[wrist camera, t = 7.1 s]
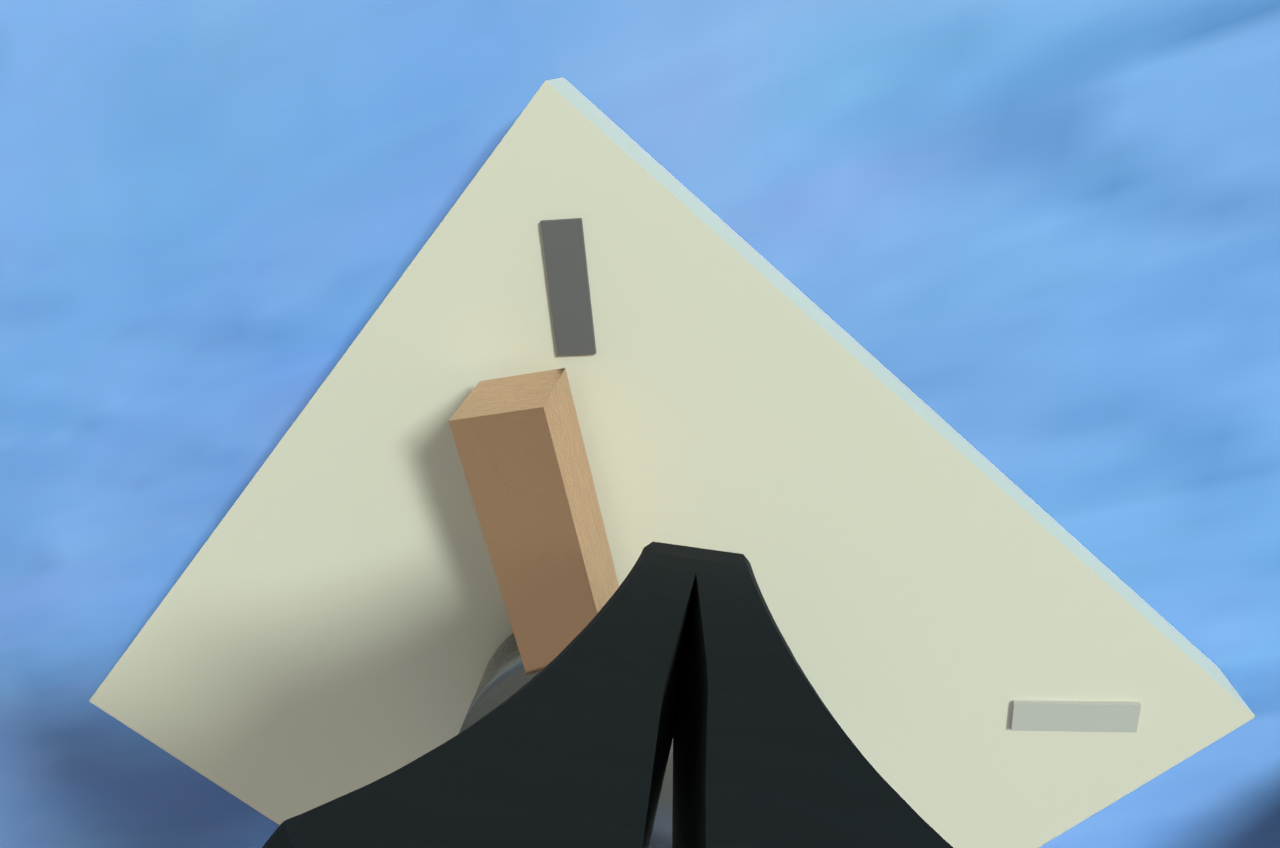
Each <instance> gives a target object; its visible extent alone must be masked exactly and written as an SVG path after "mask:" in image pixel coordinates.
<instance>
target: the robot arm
mask: <svg viewBox="0 0 1280 848" xmlns="http://www.w3.org/2000/svg"><path fill="white" fill-rule="evenodd" d="M672 740H673V800H672V848H953V847H952V846H951V845H950V844H949V843H948V842H947V841H945V840H944V839H943V838H942V837H941V836H940V835H939V834H938V833H937V832H936V831H935V830H934V829H933V828H932V827H931V826H930V825H929V824H927V823H926V822H925V821H924V820H923V819H922V818H921V817H920V816H919V815H918V814H917V813H916V812H915V811H914V810H913V809H912V808H911V807H910V805H909V804H908V803H907V802H906V801H905V800H904V799H903V798H902V797H901V796H900V795H899V794H898V793H897V792H896V791H895V790H894V789H893V788H892V787H891V786H890V785H889V784H888V783H887V782H886V781H885V780H884V779H883V778H882V777H881V775H880V774H879V773H878V772H877V771H876V770H875V769H874V768H873V766H872V765H871V764H870V763H869V762H868V761H867V759H866V758H865V757H864V756H863V755H862V753H861V752H860V751H859V750H858V748H857V747H856V746H855V745H854V743H853V742H852V741H851V739H850V738H849V737H848V736H847V734H846V733H845V732H844V731H843V729H842V728H841V727H840V725H839V724H838V723H837V721H836V720H835V718H834V717H833V716H832V714H831V713H830V711H829V710H828V709H827V707H826V706H825V704H824V703H823V701H822V700H821V698H820V697H819V695H818V694H817V692H816V691H815V689H814V688H813V686H812V685H811V683H810V682H809V680H808V679H807V677H806V675H805V674H804V672H803V670H802V669H801V667H800V665H799V664H798V662H797V661H796V659H795V657H794V655H793V654H792V652H791V650H790V648H789V646H788V644H787V643H786V641H785V639H784V637H783V635H782V634H781V632H780V630H779V628H778V626H777V624H776V622H775V620H774V618H773V616H772V614H771V612H770V610H769V608H768V606H767V604H766V602H765V600H764V597H763V595H762V593H761V591H760V588H759V586H758V583H757V581H756V578H755V576H754V573H753V570H752V567H751V564H750V562H749V561H748V559H747V558H746V557H745V556H744V554H739V553H732V552H724V551H717V550H710V549H703V548H696V547H689V546H682V545H674V544H667V543H660V542H652V543H650V544H649V545H647V546H646V547H644V548H643V550H642V553H641V555H640V556H639V558H638V560H637V562H636V563H635V565H634V566H633V568H632V570H631V571H630V572H629V574H628V575H627V577H626V578H625V579H624V581H623V582H622V584H621V585H620V586H619V588H618V589H617V590H616V592H615V593H614V594H613V595H612V597H611V598H610V599H609V600H608V601H607V603H606V604H605V605H604V606H603V607H602V609H601V610H600V611H599V612H598V613H597V615H596V616H595V617H594V618H593V619H592V620H591V622H590V623H589V624H588V625H587V626H586V627H585V628H584V629H583V630H582V631H581V632H580V633H579V634H578V635H577V636H576V637H575V638H574V639H573V640H572V641H571V642H570V643H569V644H568V645H567V647H566V648H565V649H564V650H563V651H562V652H561V653H560V654H559V655H558V656H557V657H556V658H555V659H554V660H552V661H551V662H550V663H549V664H548V665H547V666H546V667H545V668H544V669H543V670H542V671H540V672H539V673H538V674H537V675H536V676H535V677H534V678H532V679H531V680H530V681H529V682H528V683H526V684H525V685H524V686H523V687H522V688H520V689H519V690H518V691H517V692H516V693H514V694H513V695H512V696H511V697H509V698H508V699H507V700H505V701H504V702H503V703H501V704H500V705H499V706H497V707H496V708H494V709H493V710H492V711H490V712H489V713H488V714H486V715H485V716H483V717H482V718H481V719H479V720H478V721H477V722H475V723H474V724H472V725H471V726H470V727H468V728H467V729H465V730H464V731H462V732H461V733H459V734H458V735H456V736H455V737H453V738H451V739H450V740H448V741H447V742H445V743H443V744H442V745H440V746H438V747H436V748H435V749H433V750H431V751H429V752H428V753H426V754H424V755H423V756H421V757H419V758H417V759H416V760H414V761H412V762H410V763H409V764H407V765H405V766H403V767H402V768H400V769H398V770H396V771H394V772H392V773H390V774H388V775H386V776H384V777H382V778H380V779H378V780H376V781H374V782H372V783H370V784H368V785H366V786H364V787H361V788H359V789H357V790H355V791H352V792H350V793H348V794H346V795H343V796H341V797H339V798H336V799H334V800H332V801H330V802H327V803H325V804H323V805H321V806H318V807H316V808H314V809H312V810H309V811H307V812H305V813H302V814H300V815H297V816H295V817H292V818H290V819H287V820H285V821H284V822H282V823H281V824H280V826H279V827H278V828H277V829H276V831H275V832H274V833H273V834H272V836H271V837H270V838H269V840H268V841H267V842H266V843H265V845H264V846H263V847H262V848H649V844H650V839H651V835H652V830H653V826H654V821H655V817H656V812H657V808H658V803H659V799H660V794H661V790H662V785H663V781H664V776H665V772H666V767H667V763H668V758H669V754H670V749H671V745H672Z"/></svg>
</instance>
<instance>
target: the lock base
mask: <svg viewBox="0 0 1280 848" xmlns="http://www.w3.org/2000/svg"><path fill="white" fill-rule="evenodd" d="M561 368H566V373H567V377H568V381H569V385H570V389H571V393H572V397H573V401H574V405H575V409H576V413H577V417H578V421H579V425H580V429H581V433H582V438H583V442H584V446H585V450H586V454H587V458H588V462H589V466H590V470H591V474H592V478H593V482H594V486H595V490H596V494H597V498H598V503H599V507H600V511H601V515H602V519H603V523H604V527H605V531H606V535H607V539H608V543H609V547H610V551H611V555H612V559H613V563H614V568H615V572H616V576H617V580H618V584H619V586H620V585H621V584H622V582H623V581H624V579H625V578H626V577H627V575H628V574H629V572H630V571H631V570H632V568H633V566H634V565H635V563H636V562H637V560H638V558H639V556H640V555H641V553H642V550H643V548H644V547H646V546H647V545H649V544H650V543H652V542H660V543H667V544H674V545H682V546H689V547H696V548H703V549H710V550H717V551H724V552H732V553H739V554H744V556H745V557H746V558H747V559H748V561H749V562H750V564H751V567H752V570H753V573H754V576H755V578H756V581H757V583H758V586H759V588H760V591H761V593H762V595H763V597H764V600H765V602H766V604H767V606H768V608H769V610H770V612H771V614H772V616H773V618H774V620H775V622H776V624H777V626H778V628H779V630H780V632H781V634H782V635H783V637H784V639H785V641H786V643H787V644H788V646H789V648H790V650H791V652H792V654H793V655H794V657H795V659H796V661H797V662H798V664H799V665H800V667H801V669H802V670H803V672H804V674H805V675H806V677H807V679H808V680H809V682H810V683H811V685H812V686H813V688H814V689H815V691H816V692H817V694H818V695H819V697H820V698H821V700H822V701H823V703H824V704H825V706H826V707H827V709H828V710H829V711H830V713H831V714H832V716H833V717H834V718H835V720H836V721H837V723H838V724H839V725H840V727H841V728H842V729H843V731H844V732H845V733H846V734H847V736H848V737H849V738H850V739H851V741H852V742H853V743H854V745H855V746H856V747H857V748H858V750H859V751H860V752H861V753H862V755H863V756H864V757H865V758H866V759H867V761H868V762H869V763H870V764H871V765H872V766H873V768H874V769H875V770H876V771H877V772H878V773H879V774H880V775H881V777H882V778H883V779H884V780H885V781H886V782H887V783H888V784H889V785H890V786H891V787H892V788H893V789H894V790H895V791H896V792H897V793H898V794H899V795H900V796H901V797H902V798H903V799H904V800H905V801H906V802H907V803H908V804H909V805H910V807H911V808H912V809H913V810H914V811H915V812H916V813H917V814H918V815H919V816H920V817H921V818H922V819H923V820H924V821H925V822H926V823H927V824H929V825H930V826H931V827H932V828H933V829H934V830H935V831H936V832H937V833H938V834H939V835H940V836H941V837H942V838H943V839H944V840H945V841H947V842H948V843H949V844H950V845H951V846H952V847H953V848H1038V847H1040V846H1042V845H1043V844H1045V843H1047V842H1048V841H1050V840H1052V839H1053V838H1055V837H1057V836H1058V835H1060V834H1062V833H1063V832H1065V831H1067V830H1068V829H1070V828H1072V827H1073V826H1075V825H1077V824H1078V823H1080V822H1082V821H1083V820H1085V819H1087V818H1088V817H1090V816H1092V815H1093V814H1095V813H1097V812H1098V811H1100V810H1102V809H1103V808H1105V807H1107V806H1108V805H1110V804H1112V803H1113V802H1115V801H1117V800H1118V799H1120V798H1122V797H1123V796H1125V795H1127V794H1128V793H1130V792H1132V791H1133V790H1135V789H1137V788H1138V787H1140V786H1142V785H1143V784H1145V783H1147V782H1148V781H1150V780H1152V779H1153V778H1155V777H1157V776H1158V775H1160V774H1162V773H1163V772H1165V771H1167V770H1168V769H1170V768H1172V767H1173V766H1175V765H1177V764H1178V763H1180V762H1182V761H1183V760H1185V759H1187V758H1188V757H1190V756H1192V755H1193V754H1195V753H1197V752H1198V751H1200V750H1201V749H1203V748H1205V747H1206V746H1208V745H1210V744H1211V743H1213V742H1215V741H1216V740H1218V739H1220V738H1221V737H1223V736H1225V735H1226V734H1228V733H1230V732H1231V731H1233V730H1235V729H1236V728H1238V727H1240V726H1241V725H1243V724H1245V723H1246V722H1248V721H1250V720H1251V719H1253V718H1255V716H1254V714H1253V713H1252V712H1251V710H1250V709H1249V708H1248V706H1247V705H1246V704H1245V702H1244V701H1243V700H1242V698H1241V697H1240V696H1239V694H1238V693H1237V692H1236V690H1235V689H1234V688H1233V686H1232V685H1231V684H1230V682H1229V681H1228V680H1227V678H1226V677H1225V676H1224V674H1223V673H1222V672H1221V670H1220V669H1219V668H1218V667H1217V666H1216V665H1215V664H1214V663H1213V662H1212V661H1211V660H1210V659H1208V658H1207V657H1206V656H1205V655H1204V654H1203V653H1202V652H1201V651H1200V650H1198V649H1197V648H1196V647H1195V646H1194V645H1193V644H1192V643H1191V642H1190V641H1188V640H1187V639H1186V638H1185V637H1184V636H1183V635H1182V634H1181V633H1180V632H1178V631H1177V630H1176V629H1175V628H1174V627H1173V626H1172V625H1171V624H1170V623H1168V622H1167V621H1166V620H1165V619H1164V618H1163V617H1162V616H1161V615H1160V614H1159V613H1157V612H1156V611H1155V610H1154V609H1153V608H1152V607H1151V606H1150V605H1149V604H1147V603H1146V602H1145V601H1144V600H1143V599H1142V598H1141V597H1140V596H1139V595H1137V594H1136V593H1135V592H1134V591H1133V590H1132V589H1131V588H1130V587H1129V586H1127V585H1126V584H1125V583H1124V582H1123V581H1122V580H1121V579H1120V578H1119V577H1117V576H1116V575H1115V574H1114V573H1113V572H1112V571H1111V570H1110V569H1109V568H1107V567H1106V566H1105V565H1104V564H1103V563H1102V562H1101V561H1100V560H1099V559H1097V558H1096V557H1095V556H1094V555H1093V554H1092V553H1091V552H1090V551H1089V550H1088V549H1086V548H1085V547H1084V546H1083V545H1082V544H1081V543H1080V542H1079V541H1078V540H1076V539H1075V538H1074V537H1073V536H1072V535H1071V534H1070V533H1069V532H1068V531H1066V530H1065V529H1064V528H1063V527H1062V526H1061V525H1060V524H1059V523H1058V522H1056V521H1055V520H1054V519H1053V518H1052V517H1051V516H1050V515H1049V514H1048V513H1046V512H1045V511H1044V510H1043V509H1042V508H1041V507H1040V506H1039V505H1038V504H1036V503H1035V502H1034V501H1033V500H1032V499H1031V498H1030V497H1029V496H1028V495H1026V494H1025V493H1024V492H1023V491H1022V490H1021V489H1020V488H1019V487H1018V486H1017V485H1015V484H1014V483H1013V482H1012V481H1011V480H1010V479H1009V478H1008V477H1007V476H1005V475H1004V474H1003V473H1002V472H1001V471H1000V470H999V469H998V468H997V467H995V466H994V465H993V464H992V463H991V462H990V461H989V460H988V459H987V458H985V457H984V456H983V455H982V454H981V453H980V452H979V451H978V450H977V449H975V448H974V447H973V446H972V445H971V444H970V443H969V442H968V441H967V440H965V439H964V438H963V437H962V436H961V435H960V434H959V433H958V432H957V431H955V430H954V429H953V428H952V427H951V426H950V425H949V424H948V423H947V422H946V421H944V420H943V419H942V418H941V417H940V416H939V415H938V414H937V413H936V412H934V411H933V410H932V409H931V408H930V407H929V406H928V405H927V404H926V403H924V402H923V401H922V400H921V399H920V398H919V397H918V396H917V395H916V394H914V393H913V392H912V391H911V390H910V389H909V388H908V387H907V386H906V385H904V384H903V383H902V382H901V381H900V380H899V379H898V378H897V377H896V376H894V375H893V374H892V373H891V372H890V371H889V370H888V369H887V368H886V367H884V366H883V365H882V364H881V363H880V362H879V361H878V360H877V359H876V358H875V357H873V356H872V355H871V354H870V353H869V352H868V351H867V350H866V349H865V348H863V347H862V346H861V345H860V344H859V343H858V342H857V341H856V340H855V339H853V338H852V337H851V336H850V335H849V334H848V333H847V332H846V331H845V330H843V329H842V328H841V327H840V326H839V325H838V324H837V323H836V322H835V321H833V320H832V319H831V318H830V317H829V316H828V315H827V314H826V313H825V312H823V311H822V310H821V309H820V308H819V307H818V306H817V305H816V304H815V303H813V302H812V301H811V300H810V299H809V298H808V297H807V296H806V295H805V294H804V293H802V292H801V291H800V290H799V289H798V288H797V287H796V286H795V285H794V284H792V283H791V282H790V281H789V280H788V279H787V278H786V277H785V276H784V275H782V274H781V273H780V272H779V271H778V270H777V269H776V268H775V267H774V266H772V265H771V264H770V263H769V262H768V261H767V260H766V259H765V258H764V257H762V256H761V255H760V254H759V253H758V252H757V251H756V250H755V249H754V248H752V247H751V246H750V245H749V244H748V243H747V242H746V241H745V240H744V239H742V238H741V237H740V236H739V235H738V234H737V233H736V232H735V231H734V230H732V229H731V228H730V227H729V226H728V225H727V224H726V223H725V222H724V221H723V220H721V219H720V218H719V217H718V216H717V215H716V214H715V213H714V212H713V211H711V210H710V209H709V208H708V207H707V206H706V205H705V204H704V203H703V202H701V201H700V200H699V199H698V198H697V197H696V196H695V195H694V194H693V193H691V192H690V191H689V190H688V189H687V188H686V187H685V186H684V185H683V184H681V183H680V182H679V181H678V180H677V179H676V178H675V177H674V176H673V175H671V174H670V173H669V172H668V171H667V170H666V169H665V168H664V167H663V166H662V165H660V164H659V163H658V162H657V161H656V160H655V159H654V158H653V157H652V156H650V155H649V154H648V153H647V152H646V151H645V150H644V149H643V148H642V147H640V146H639V145H638V144H637V143H636V142H635V141H634V140H633V139H632V138H630V137H629V136H628V135H627V134H626V133H625V132H624V131H623V130H622V129H620V128H619V127H618V126H617V125H616V124H615V123H614V122H613V121H612V120H610V119H609V118H608V117H607V116H606V115H605V114H604V113H603V112H602V111H600V110H599V109H598V108H597V107H596V106H595V105H594V104H593V103H592V102H590V101H589V100H588V99H587V98H586V97H585V96H584V95H583V94H582V93H581V92H579V91H578V90H577V89H576V88H575V87H574V86H573V85H572V84H571V83H569V82H568V81H567V80H566V79H565V78H564V77H562V78H557V79H552V80H547V81H545V82H544V83H543V85H542V86H541V88H540V89H539V90H538V92H537V93H536V94H535V96H534V97H533V98H532V100H531V101H530V102H529V104H528V105H527V107H526V108H525V109H524V111H523V112H522V113H521V115H520V116H519V117H518V119H517V120H516V122H515V123H514V124H513V126H512V127H511V128H510V130H509V131H508V132H507V134H506V135H505V136H504V138H503V139H502V141H501V142H500V143H499V145H498V146H497V147H496V149H495V150H494V151H493V153H492V154H491V155H490V157H489V158H488V160H487V161H486V162H485V164H484V165H483V166H482V168H481V169H480V170H479V172H478V173H477V174H476V176H475V177H474V179H473V180H472V181H471V183H470V184H469V185H468V187H467V188H466V189H465V191H464V192H463V194H462V195H461V196H460V198H459V199H458V200H457V202H456V203H455V204H454V206H453V207H452V208H451V210H450V211H449V213H448V214H447V215H446V217H445V218H444V219H443V221H442V222H441V223H440V225H439V226H438V227H437V229H436V230H435V232H434V233H433V234H432V236H431V237H430V238H429V240H428V241H427V242H426V244H425V245H424V247H423V248H422V249H421V251H420V252H419V253H418V255H417V256H416V257H415V259H414V260H413V261H412V263H411V264H410V266H409V267H408V268H407V270H406V271H405V272H404V274H403V275H402V276H401V278H400V279H399V280H398V282H397V283H396V285H395V286H394V287H393V289H392V290H391V291H390V293H389V294H388V295H387V297H386V298H385V299H384V301H383V302H382V304H381V305H380V306H379V308H378V309H377V310H376V312H375V313H374V314H373V316H372V317H371V319H370V320H369V321H368V323H367V324H366V325H365V327H364V328H363V329H362V331H361V332H360V333H359V335H358V336H357V338H356V339H355V340H354V342H353V343H352V344H351V346H350V347H349V348H348V350H347V351H346V352H345V354H344V355H343V357H342V358H341V359H340V361H339V362H338V363H337V365H336V366H335V367H334V369H333V370H332V372H331V373H330V374H329V376H328V377H327V378H326V380H325V381H324V382H323V384H322V385H321V386H320V388H319V389H318V391H317V392H316V393H315V395H314V396H313V397H312V399H311V400H310V401H309V403H308V404H307V405H306V407H305V408H304V410H303V411H302V412H301V414H300V415H299V416H298V418H297V419H296V420H295V422H294V423H293V424H292V426H291V427H290V429H289V430H288V431H287V433H286V434H285V435H284V437H283V438H282V439H281V441H280V442H279V444H278V445H277V446H276V448H275V449H274V450H273V452H272V453H271V454H270V456H269V457H268V458H267V460H266V461H265V463H264V464H263V465H262V467H261V468H260V469H259V471H258V472H257V473H256V475H255V476H254V477H253V479H252V480H251V482H250V483H249V484H248V486H247V487H246V488H245V490H244V491H243V492H242V494H241V495H240V497H239V498H238V499H237V501H236V502H235V503H234V505H233V506H232V507H231V509H230V510H229V511H228V513H227V514H226V516H225V517H224V518H223V520H222V521H221V522H220V524H219V525H218V526H217V528H216V529H215V530H214V532H213V533H212V535H211V536H210V537H209V539H208V540H207V541H206V543H205V544H204V545H203V547H202V548H201V549H200V551H199V552H198V554H197V555H196V556H195V558H194V559H193V560H192V562H191V563H190V564H189V566H188V567H187V569H186V570H185V571H184V573H183V574H182V575H181V577H180V578H179V579H178V581H177V582H176V583H175V585H174V586H173V588H172V589H171V590H170V592H169V593H168V594H167V596H166V597H165V598H164V600H163V601H162V602H161V604H160V605H159V607H158V608H157V609H156V611H155V612H154V613H153V615H152V616H151V617H150V619H149V620H148V621H147V623H146V624H145V626H144V627H143V628H142V630H141V631H140V632H139V634H138V635H137V636H136V638H135V639H134V641H133V642H132V643H131V645H130V646H129V647H128V649H127V650H126V651H125V653H124V654H123V655H122V657H121V658H120V660H119V661H118V662H117V664H116V665H115V666H114V668H113V669H112V670H111V672H110V673H109V674H108V676H107V677H106V679H105V680H104V681H103V683H102V684H101V685H100V687H99V688H98V689H97V691H96V692H95V694H94V695H93V696H92V698H91V699H90V700H89V702H91V703H92V704H94V705H96V706H97V707H99V708H100V709H102V710H103V711H105V712H106V713H108V714H109V715H111V716H112V717H114V718H115V719H117V720H119V721H120V722H122V723H123V724H125V725H126V726H128V727H129V728H131V729H132V730H134V731H135V732H137V733H139V734H140V735H142V736H143V737H145V738H146V739H148V740H149V741H151V742H152V743H154V744H155V745H157V746H158V747H160V748H162V749H163V750H165V751H166V752H168V753H169V754H171V755H172V756H174V757H175V758H177V759H178V760H180V761H182V762H183V763H185V764H186V765H188V766H189V767H191V768H192V769H194V770H195V771H197V772H198V773H200V774H201V775H203V776H205V777H206V778H208V779H209V780H211V781H212V782H214V783H215V784H217V785H218V786H220V787H221V788H223V789H225V790H226V791H228V792H229V793H231V794H232V795H234V796H235V797H237V798H238V799H240V800H241V801H243V802H244V803H246V804H248V805H249V806H251V807H252V808H254V809H255V810H257V811H258V812H260V813H261V814H263V815H264V816H266V817H268V818H269V819H271V820H272V821H274V822H275V823H277V824H278V825H280V824H281V823H282V822H284V821H285V820H287V819H290V818H292V817H295V816H297V815H300V814H302V813H305V812H307V811H309V810H312V809H314V808H316V807H318V806H321V805H323V804H325V803H327V802H330V801H332V800H334V799H336V798H339V797H341V796H343V795H346V794H348V793H350V792H352V791H355V790H357V789H359V788H361V787H364V786H366V785H368V784H370V783H372V782H374V781H376V780H378V779H380V778H382V777H384V776H386V775H388V774H390V773H392V772H394V771H396V770H398V769H400V768H402V767H403V766H405V765H407V764H409V763H410V762H412V761H414V760H416V759H417V758H419V757H421V756H423V755H424V754H426V753H428V752H429V751H431V750H433V749H435V748H436V747H438V746H440V745H442V744H443V743H445V742H447V741H448V740H450V739H451V738H453V737H455V736H456V735H458V734H459V731H460V729H461V727H462V724H463V722H464V719H465V717H466V715H467V712H468V710H469V707H470V705H471V703H472V700H473V698H474V696H475V693H476V691H477V688H478V686H479V684H480V681H481V679H482V676H483V674H484V672H485V669H486V667H487V665H488V662H489V661H490V659H491V658H492V656H493V654H494V653H495V651H496V650H497V649H498V648H499V646H500V645H501V644H502V643H503V642H504V641H505V640H506V639H507V638H508V637H509V636H510V635H511V634H513V629H512V626H511V623H510V620H509V616H508V613H507V610H506V607H505V603H504V600H503V597H502V593H501V590H500V587H499V584H498V580H497V577H496V574H495V571H494V567H493V564H492V561H491V558H490V554H489V551H488V548H487V545H486V541H485V538H484V535H483V532H482V528H481V525H480V522H479V519H478V515H477V512H476V509H475V506H474V502H473V499H472V496H471V493H470V489H469V486H468V483H467V480H466V476H465V473H464V470H463V467H462V463H461V460H460V457H459V454H458V450H457V447H456V444H455V441H454V437H453V434H452V431H451V428H450V424H449V420H450V418H451V417H452V416H453V414H454V413H455V412H456V411H457V409H458V408H459V407H460V406H461V404H462V403H463V402H464V401H465V399H466V398H467V397H468V395H469V394H470V393H471V392H472V390H473V389H474V388H475V387H476V385H477V384H478V383H479V382H480V381H484V380H490V379H497V378H503V377H510V376H516V375H523V374H529V373H535V372H542V371H548V370H555V369H561Z"/></svg>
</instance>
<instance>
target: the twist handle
mask: <svg viewBox="0 0 1280 848" xmlns="http://www.w3.org/2000/svg"><path fill="white" fill-rule="evenodd" d="M449 424H450V428H451V431H452V434H453V437H454V441H455V444H456V447H457V450H458V454H459V457H460V460H461V463H462V467H463V470H464V473H465V476H466V480H467V483H468V486H469V489H470V493H471V496H472V499H473V502H474V506H475V509H476V512H477V515H478V519H479V522H480V525H481V528H482V532H483V535H484V538H485V541H486V545H487V548H488V551H489V554H490V558H491V561H492V564H493V567H494V571H495V574H496V577H497V580H498V584H499V587H500V590H501V593H502V597H503V600H504V603H505V607H506V610H507V613H508V616H509V620H510V623H511V626H512V629H513V634H511V635H510V636H509V637H508V638H507V639H506V640H505V641H504V642H503V643H502V644H501V645H500V646H499V648H498V649H497V650H496V651H495V653H494V654H493V656H492V658H491V659H490V661H489V662H488V665H487V667H486V669H485V672H484V674H483V676H482V679H481V681H480V684H479V686H478V688H477V691H476V693H475V696H474V698H473V700H472V703H471V705H470V707H469V710H468V712H467V715H466V717H465V719H464V722H463V724H462V727H461V729H460V731H459V733H461V732H462V731H464V730H465V729H467V728H468V727H470V726H471V725H472V724H474V723H475V722H477V721H478V720H479V719H481V718H482V717H483V716H485V715H486V714H488V713H489V712H490V711H492V710H493V709H494V708H496V707H497V706H499V705H500V704H501V703H503V702H504V701H505V700H507V699H508V698H509V697H511V696H512V695H513V694H514V693H516V692H517V691H518V690H519V689H520V688H522V687H523V686H524V685H525V684H526V683H528V682H529V681H530V680H531V679H532V678H534V677H535V676H536V675H537V674H538V673H539V672H540V671H542V670H543V669H544V668H545V667H546V666H547V665H548V664H549V663H550V662H551V661H552V660H554V659H555V658H556V657H557V656H558V655H559V654H560V653H561V652H562V651H563V650H564V649H565V648H566V647H567V645H568V644H569V643H570V642H571V641H572V640H573V639H574V638H575V637H576V636H577V635H578V634H579V633H580V632H581V631H582V630H583V629H584V628H585V627H586V626H587V625H588V624H589V623H590V622H591V620H592V619H593V618H594V617H595V616H596V615H597V613H598V612H599V611H600V610H601V609H602V607H603V606H604V605H605V604H606V603H607V601H608V600H609V599H610V598H611V597H612V595H613V594H614V593H615V592H616V590H617V589H618V588H619V584H618V580H617V576H616V572H615V568H614V563H613V559H612V555H611V551H610V547H609V543H608V539H607V535H606V531H605V527H604V523H603V519H602V515H601V511H600V507H599V503H598V498H597V494H596V490H595V486H594V482H593V478H592V474H591V470H590V466H589V462H588V458H587V454H586V450H585V446H584V442H583V438H582V433H581V429H580V425H579V421H578V417H577V413H576V409H575V405H574V401H573V397H572V393H571V389H570V385H569V381H568V377H567V373H566V368H561V369H555V370H548V371H542V372H535V373H529V374H523V375H516V376H510V377H503V378H497V379H490V380H484V381H480V382H479V383H478V384H477V385H476V387H475V388H474V389H473V390H472V392H471V393H470V394H469V395H468V397H467V398H466V399H465V401H464V402H463V403H462V404H461V406H460V407H459V408H458V409H457V411H456V412H455V413H454V414H453V416H452V417H451V418H450V420H449ZM672 800H673V740H672V745H671V749H670V754H669V758H668V763H667V767H666V772H665V776H664V781H663V785H662V790H661V794H660V799H659V803H658V808H657V812H656V817H655V821H654V826H653V830H652V835H651V839H650V844H649V848H672Z"/></svg>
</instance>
